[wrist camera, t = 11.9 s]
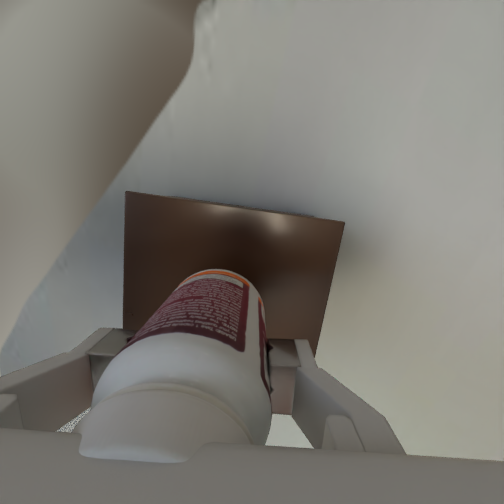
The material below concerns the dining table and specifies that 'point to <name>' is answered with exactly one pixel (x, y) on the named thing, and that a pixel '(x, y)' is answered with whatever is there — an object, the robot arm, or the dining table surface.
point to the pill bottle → (186, 377)
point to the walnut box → (230, 258)
